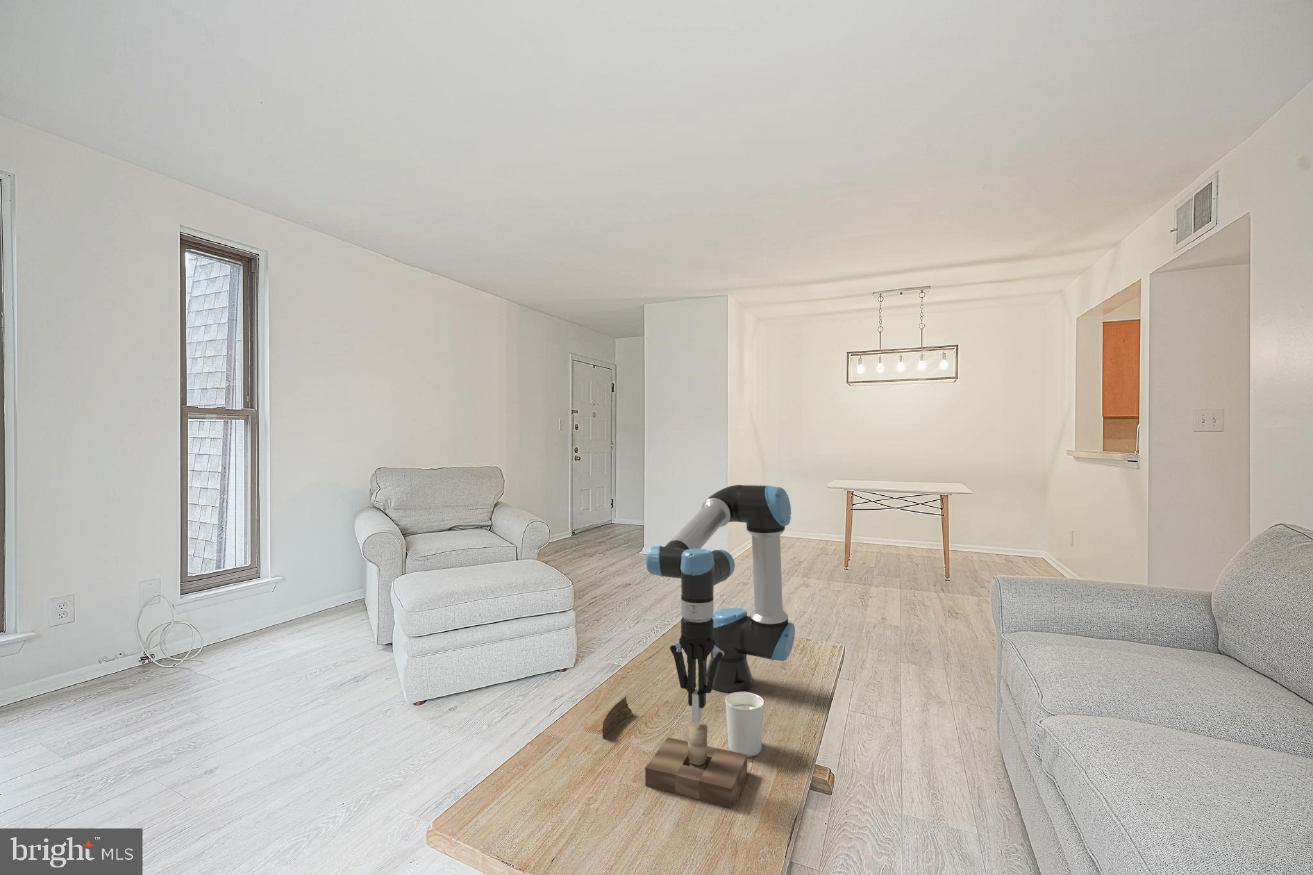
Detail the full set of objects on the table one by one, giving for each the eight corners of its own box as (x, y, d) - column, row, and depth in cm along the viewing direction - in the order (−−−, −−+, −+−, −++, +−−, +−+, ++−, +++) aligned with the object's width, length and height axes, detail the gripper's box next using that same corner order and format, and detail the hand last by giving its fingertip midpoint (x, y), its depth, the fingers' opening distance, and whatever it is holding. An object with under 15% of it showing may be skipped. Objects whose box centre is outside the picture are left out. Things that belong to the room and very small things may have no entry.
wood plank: (607, 739, 143) (607, 720, 143) (600, 738, 144) (600, 719, 144) (632, 713, 157) (631, 695, 158) (625, 712, 158) (625, 694, 158)
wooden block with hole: (668, 753, 137) (668, 737, 137) (747, 771, 129) (747, 754, 129) (645, 785, 124) (645, 767, 124) (731, 807, 116) (731, 788, 116)
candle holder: (734, 761, 133) (734, 711, 134) (719, 740, 143) (719, 694, 143) (771, 755, 136) (771, 706, 136) (753, 735, 145) (753, 689, 146)
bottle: (691, 771, 129) (691, 719, 129) (709, 775, 127) (709, 723, 128) (685, 781, 125) (685, 728, 125) (703, 786, 123) (703, 732, 124)
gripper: (665, 618, 126) (664, 722, 126) (719, 625, 121) (719, 733, 121) (676, 609, 133) (676, 708, 132) (728, 616, 128) (728, 718, 127)
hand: (697, 720), depth 126 cm, fingers closed
